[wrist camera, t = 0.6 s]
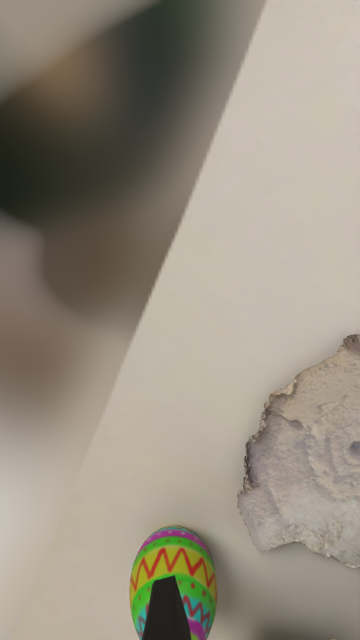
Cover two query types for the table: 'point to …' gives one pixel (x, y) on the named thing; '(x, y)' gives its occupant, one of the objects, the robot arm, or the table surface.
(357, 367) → the decorative stone
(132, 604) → the egg
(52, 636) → the table surface
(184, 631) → the robot arm
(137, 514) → the table surface
